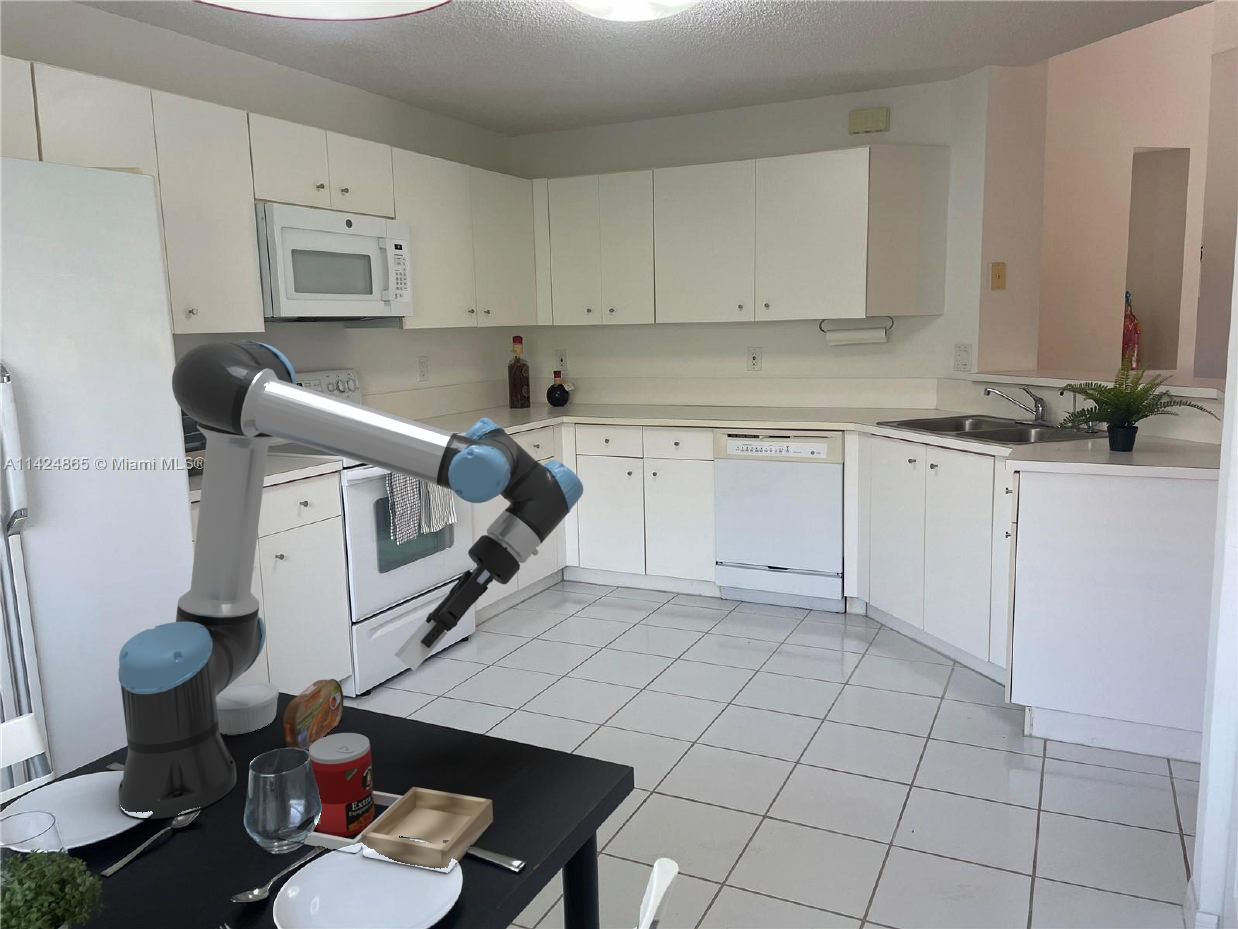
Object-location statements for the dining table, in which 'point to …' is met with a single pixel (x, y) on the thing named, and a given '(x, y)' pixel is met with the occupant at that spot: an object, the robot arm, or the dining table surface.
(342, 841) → the grey plastic frame
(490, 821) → the tray
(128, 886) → the dining table surface
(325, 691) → the tin
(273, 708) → the ramekin
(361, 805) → the canned food
